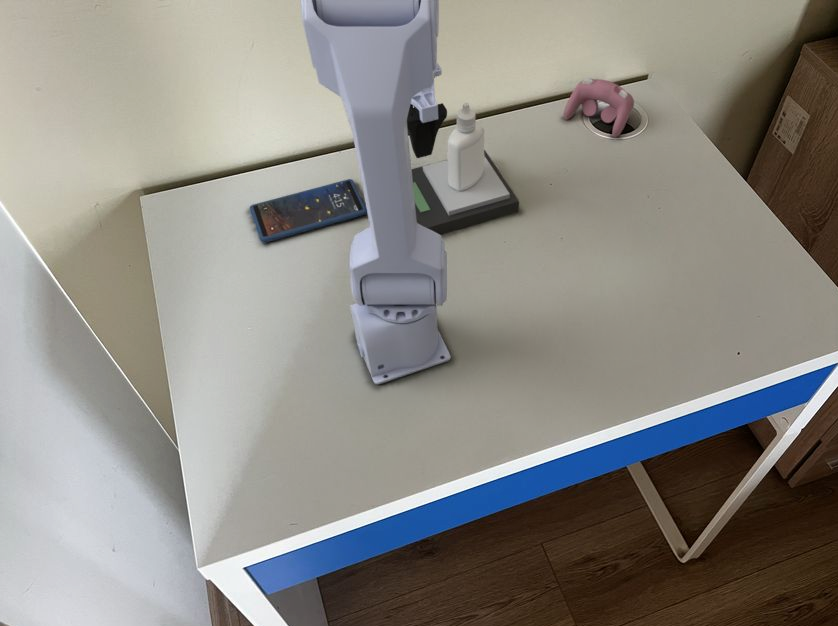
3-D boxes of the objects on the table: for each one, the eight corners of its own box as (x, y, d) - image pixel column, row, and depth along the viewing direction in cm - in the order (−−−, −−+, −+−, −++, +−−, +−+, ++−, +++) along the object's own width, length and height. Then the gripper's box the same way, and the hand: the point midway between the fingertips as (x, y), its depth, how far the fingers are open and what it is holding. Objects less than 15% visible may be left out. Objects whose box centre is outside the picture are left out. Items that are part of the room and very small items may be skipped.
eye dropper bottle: (490, 184, 97) (493, 109, 87) (452, 194, 96) (451, 119, 86) (478, 165, 100) (480, 89, 90) (441, 174, 98) (438, 99, 89)
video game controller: (625, 136, 110) (641, 91, 107) (616, 139, 106) (633, 92, 103) (569, 116, 113) (583, 71, 110) (559, 118, 109) (573, 72, 106)
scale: (424, 239, 95) (423, 224, 93) (395, 184, 101) (393, 169, 99) (518, 211, 98) (519, 196, 96) (484, 160, 104) (484, 144, 102)
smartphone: (248, 204, 98) (352, 177, 101) (249, 209, 98) (352, 181, 101) (260, 241, 93) (368, 211, 97) (261, 245, 94) (368, 215, 97)
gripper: (462, 63, 77) (462, 163, 88) (416, 0, 85) (422, 99, 96) (401, 78, 76) (409, 177, 87) (360, 12, 83) (373, 111, 94)
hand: (413, 137), depth 91 cm, fingers open, 7 cm apart
